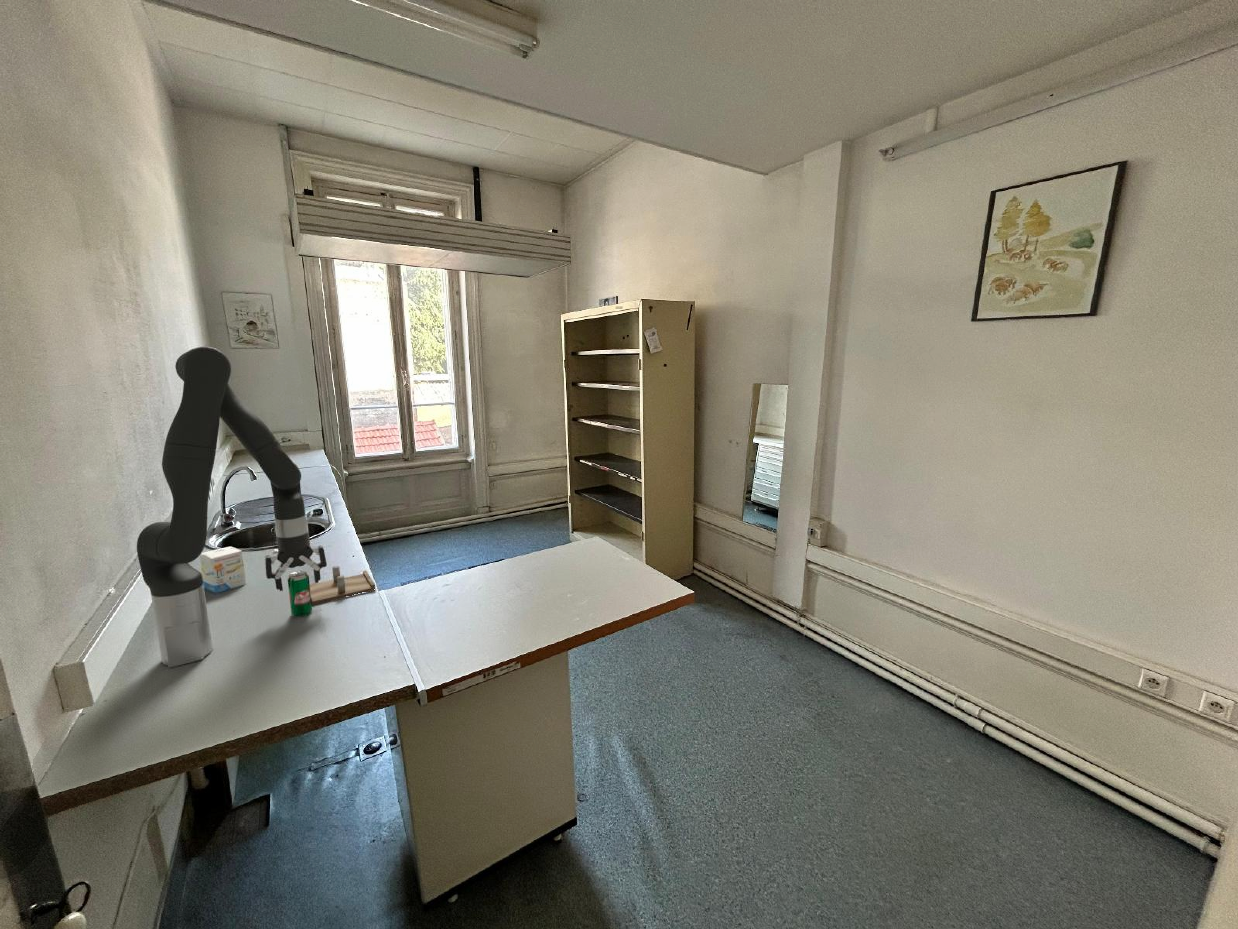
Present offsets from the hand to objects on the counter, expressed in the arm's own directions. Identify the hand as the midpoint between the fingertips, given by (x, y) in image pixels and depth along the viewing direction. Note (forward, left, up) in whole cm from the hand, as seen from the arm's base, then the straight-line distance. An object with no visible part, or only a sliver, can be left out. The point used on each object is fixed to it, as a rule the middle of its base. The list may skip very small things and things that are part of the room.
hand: (299, 586), depth 138 cm
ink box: (+35, +18, -8) cm, 40 cm away
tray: (+10, -11, -8) cm, 17 cm away
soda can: (-1, 0, -8) cm, 8 cm away
